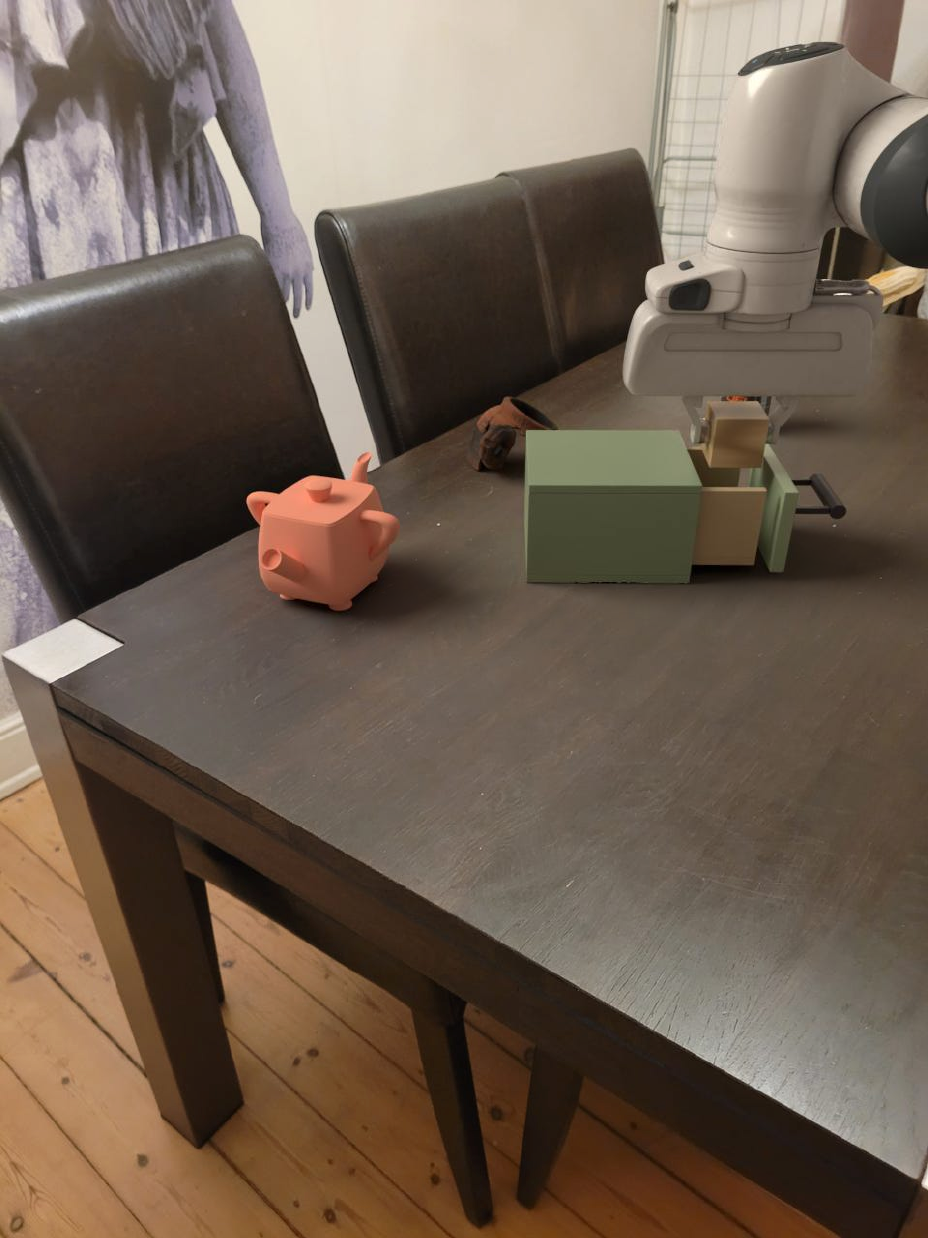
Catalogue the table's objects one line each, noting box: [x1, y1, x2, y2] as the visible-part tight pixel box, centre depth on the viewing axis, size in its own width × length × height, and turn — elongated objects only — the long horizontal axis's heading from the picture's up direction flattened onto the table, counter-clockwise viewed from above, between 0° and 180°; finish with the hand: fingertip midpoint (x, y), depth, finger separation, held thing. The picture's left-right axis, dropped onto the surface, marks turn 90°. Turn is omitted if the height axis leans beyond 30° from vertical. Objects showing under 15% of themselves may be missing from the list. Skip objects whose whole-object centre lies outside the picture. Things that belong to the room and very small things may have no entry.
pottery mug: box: [465, 396, 559, 472], centre depth 104 cm, size 12×10×8 cm
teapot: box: [246, 451, 401, 612], centre depth 81 cm, size 14×12×10 cm
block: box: [700, 400, 770, 469], centre depth 82 cm, size 4×4×4 cm
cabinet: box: [523, 429, 702, 585], centre depth 86 cm, size 15×13×10 cm
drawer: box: [685, 444, 847, 573], centre depth 85 cm, size 19×11×8 cm, turn 88°
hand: (732, 441), depth 82 cm, fingers closed on block, 4 cm apart
